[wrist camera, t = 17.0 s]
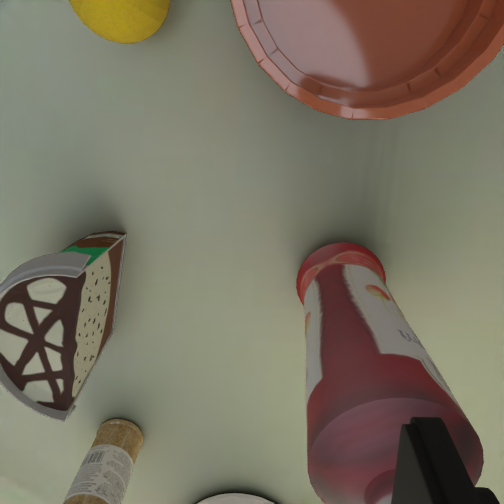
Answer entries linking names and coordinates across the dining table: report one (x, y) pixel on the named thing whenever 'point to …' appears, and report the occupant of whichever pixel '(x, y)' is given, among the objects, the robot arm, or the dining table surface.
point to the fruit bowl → (371, 50)
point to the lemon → (122, 17)
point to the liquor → (366, 379)
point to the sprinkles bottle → (107, 465)
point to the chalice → (235, 499)
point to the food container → (59, 322)
